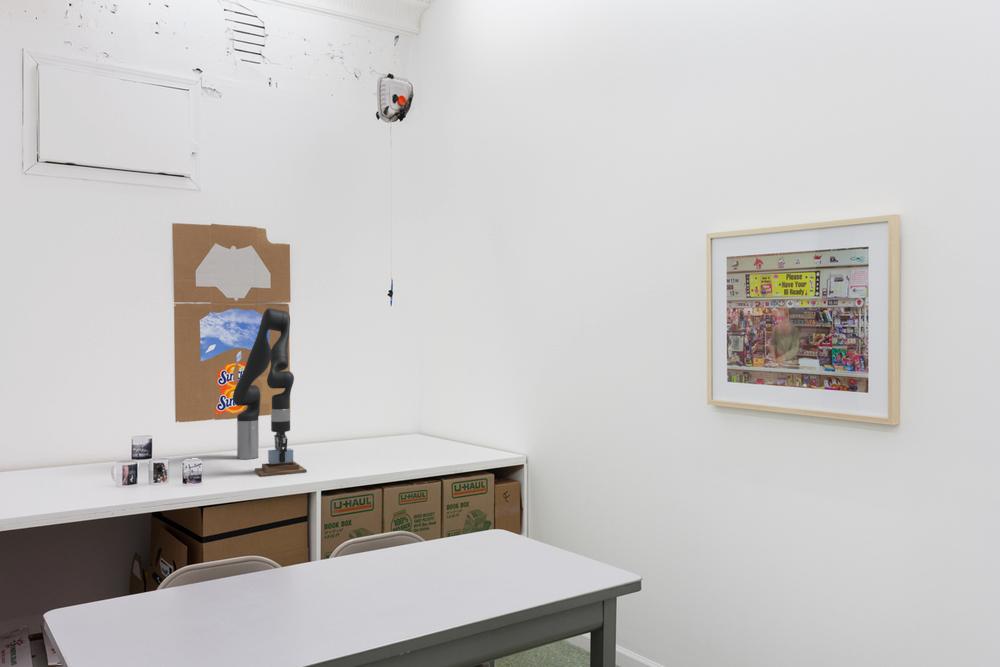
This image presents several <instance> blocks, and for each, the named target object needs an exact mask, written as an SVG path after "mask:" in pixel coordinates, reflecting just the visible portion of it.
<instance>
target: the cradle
mask: <svg viewBox="0 0 1000 667" xmlns="http://www.w3.org/2000/svg"><path fill="white" fill-rule="evenodd" d="M254 472H256V473H257V475H258V476H259V477H261V478H262V477H272V476H273V477H274V476H281V475H282V476H284V475H292V474H293V475H294V474H304V473H307V469H306V468H304V467H303V466H302V465H300V464H299V463H297V462H296V461H294V460H293V462H288V463H277V464H270V463H269V462H266V463H261V467H256V468H254Z"/></svg>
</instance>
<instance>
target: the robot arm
mask: <svg viewBox="0 0 1000 667" xmlns="http://www.w3.org/2000/svg"><path fill="white" fill-rule="evenodd" d="M290 326H291V317H290V313H289V312H288V311H284V310H280V309H276V308H266V309H265V310H264V312H263V314H262V317H261V321H260V324H259V327H258V331H257V335H256V337H255V341H254V343H253V345H252V348H251V350H250V353H249V355H248V357H247V361H246V363H245V367H244V369H243V372H242V374H241V376H240V378H239V380H238V382H237V383H236V386H235V388H234V390H233V394H232V401H233V404H234V405H236V406H238V407H245V406H247V407H246V408H245V410H244V411H242V412H240V413H238V414H237V418H236V420H237V421H236V428H237V429H236V430H237V432H236V436H237V437H236V438H237V439H236V442H237V443H236V446H237V448H236V451H237V452H236V456H237V457H236V458H237V459H239V460H252V459H256V458H259V447H260V446H259V416H260V412H261V411H260V410H261V390H260V388H259V386H257V385H255V384H253V383H254V381H256V379H258V378H259V377H260V376H261V375H263V373H265V371H266V370H267V369H268V368H269V365H270V369H269V372H268V375H267V379H266V384H267V386H268V387H269V388H270V389H284V391H283V392H280V393H277V394H273V395H272V396H271V414H270V426H271V427H270V431H271V432H272V433H276V434H274V450H277V449H279V462H285V453H286V452H287V449H288V437H287V435H286V432H290V431H291V409H290V400H291V399H290V397H291V392H292V388H293V385H294V382H295V376H294V373H293V372H291V371H289V370H287V369H288V367H289V353H288V352H289V350H288V345H289V337H290V329H291V328H290ZM269 330H270V331H274V332H280V336H279V338H278V339H277V340H276V342H274V344H273V345H272V346H271V345H270V343H269V339H268V331H269ZM286 370H287V371H286Z"/></svg>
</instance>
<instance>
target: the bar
mask: <svg viewBox="0 0 1000 667" xmlns="http://www.w3.org/2000/svg"><path fill="white" fill-rule="evenodd" d="M267 453H268V454H267V458H268V459H267V460H268V462H267V463H270V464H277V463H288V462H293V461H294V449H292V448H287V452H286V453H285V462H279V449H277V450H276V449H269V450H268V451H267Z"/></svg>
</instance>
